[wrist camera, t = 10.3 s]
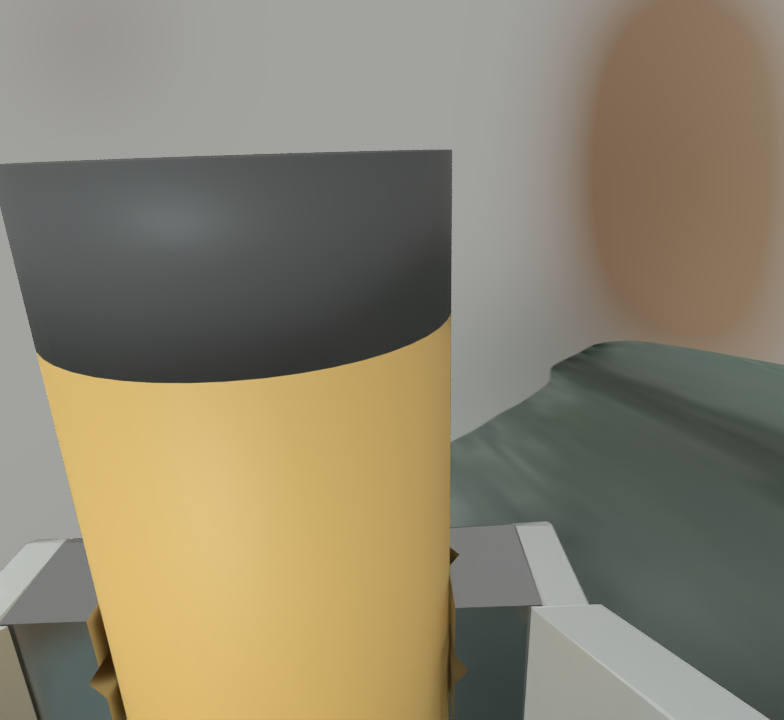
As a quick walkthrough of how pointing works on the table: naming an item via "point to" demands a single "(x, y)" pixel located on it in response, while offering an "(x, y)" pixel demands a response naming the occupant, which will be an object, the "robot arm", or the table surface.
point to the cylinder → (253, 421)
